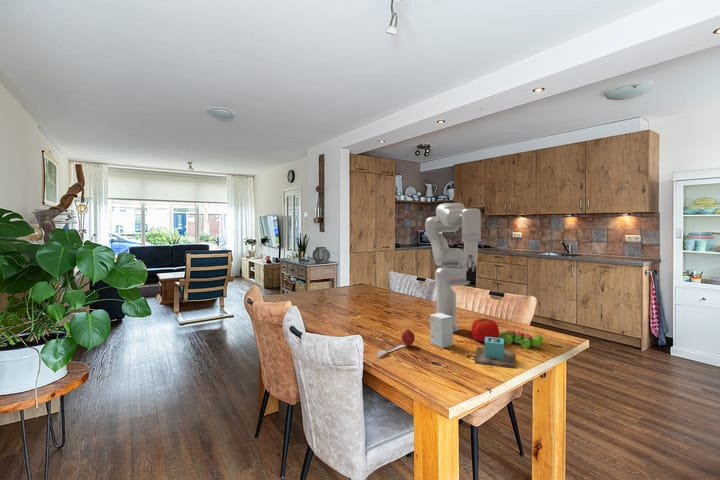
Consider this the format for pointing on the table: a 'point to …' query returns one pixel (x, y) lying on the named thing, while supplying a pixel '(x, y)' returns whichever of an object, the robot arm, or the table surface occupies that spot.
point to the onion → (407, 337)
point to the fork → (388, 351)
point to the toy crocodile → (520, 338)
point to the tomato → (484, 329)
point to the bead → (494, 348)
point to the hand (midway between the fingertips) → (471, 279)
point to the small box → (441, 330)
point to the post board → (505, 362)
